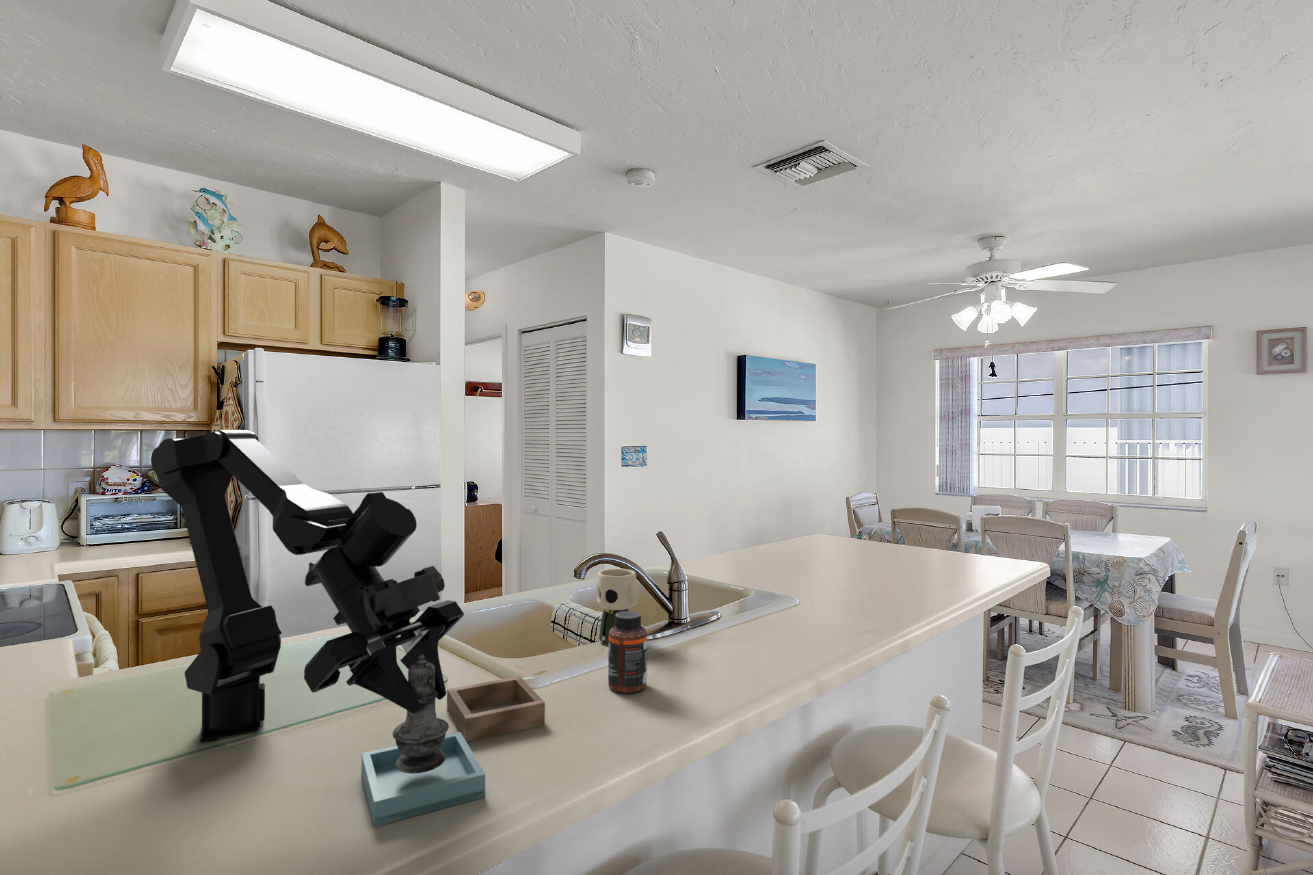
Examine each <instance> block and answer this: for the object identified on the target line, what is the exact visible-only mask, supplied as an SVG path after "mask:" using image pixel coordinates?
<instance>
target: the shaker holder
mask: <svg viewBox="0 0 1313 875" xmlns="http://www.w3.org/2000/svg"><path fill="white" fill-rule="evenodd" d="M513 701H515V702H516V703H517V704H515V705H510V706H505V707H499V708H496V709H491V710H485V711H480V712H476V713H471V711H470V710H473V709H478V708H482V707H488V706H493V705H497V704H502V703H508V702H513ZM446 712H447V713H448V714H449V717H450V718H451V720H452V721H453V723H454V725H455V727H456V729H457V730H458V732H461V734H462V735H463V737H464V739H465V741H466V742H467V743H469V742H474V741H479V740H482V739H487V738H490V737H491V738H492V737H495V736H496V737H497V736H500V735H505V734H509V733H514V732H518V731H523V730H527V729H532V728H537V727H541V726H544V725H545V723H546V721H545V719H546V713H545V712H546V702H545V701H544V700H543V699H542V698H541V697H540V696H539V695H538V694H537V693H536V691H535V690H534V689H533V688H532V687H531V686H530V685H529V684H528V682H526V681H525V680H524V679H523V678H522V677H521V676H514V677H513V676H512V677H508V678H503V679H497V680H491V681H485V682H480V683H475V684H470V685H465V686H464V685H463V686H459V687H453V688H452V687H451V688H448V689H446Z"/></svg>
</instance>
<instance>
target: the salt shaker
mask: <svg viewBox="0 0 1313 875" xmlns="http://www.w3.org/2000/svg"><path fill="white" fill-rule="evenodd" d="M424 658H425V657H424V655H423V654H421V655H420V657H419V659H420V661H418V662H416V663H414V664H412V665H411V666H410V668H409V670H408V671H407V681H408V683H409V684H410V686H411V688H412V689H413V691H414V693H415V694H416V697H417V699H418V701H419V703H420V705H421V708H420V709H419V710H418V711H417V712H416V713H411V712H409V711H408V710H406V717H405V721H404V722H402V723H400V724H398V725H397V726H396V727H395V728H394V729H393V731H392V737H393V739H394V740H395V744H396V745H395V746H397V747H398V749H399V750H400V752H402V753H403V754H402V755H401V756H400V757H399V758H398V759H397V760H396V762H395V767H396V768H397V770H399V771H401V772H404V773H411V774H415V773H423V772H427V771H431V770H433V769H435V768H437V767H439V766H440V765H442V764H443V762H444V761H445V758H446V756H445V753H444V752H443V751H441V750H439V749H438V748H439V747H440V746H441V745H442V743H443V741H444V739H445V736H446V735H447V732H448V731H449V727H450V725H449V723H448V722H447V721H446V720H445V719H443V718H440V717H437V713H436V699H437V698H436V697H437V696H438V692H437V691H436V690H435V667H434V665H433V664H432V663H430V662H428V661H426V660H424Z"/></svg>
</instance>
